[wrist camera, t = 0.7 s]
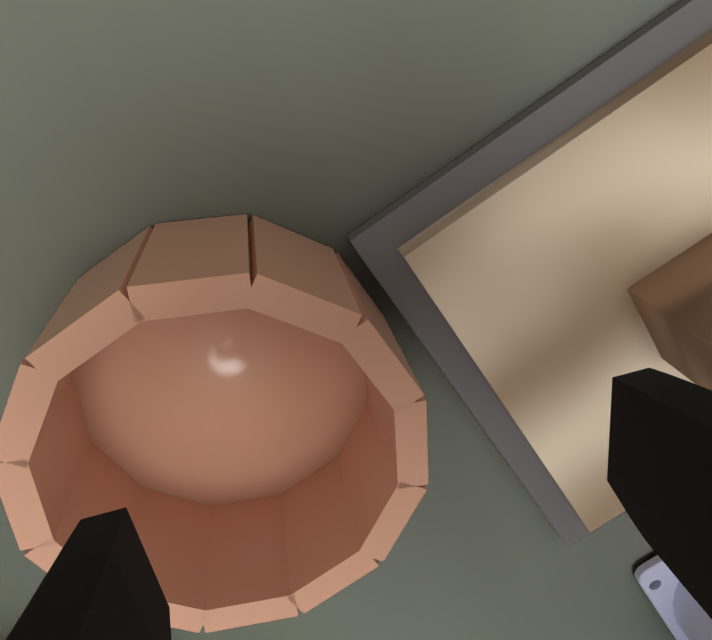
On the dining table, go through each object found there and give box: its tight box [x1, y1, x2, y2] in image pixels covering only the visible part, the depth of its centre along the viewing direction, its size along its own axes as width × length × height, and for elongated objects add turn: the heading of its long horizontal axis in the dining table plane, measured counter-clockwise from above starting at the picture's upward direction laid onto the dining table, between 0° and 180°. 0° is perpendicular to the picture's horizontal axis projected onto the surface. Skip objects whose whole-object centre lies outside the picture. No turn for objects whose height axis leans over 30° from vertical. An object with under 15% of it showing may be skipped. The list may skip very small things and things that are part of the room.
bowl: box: [0, 214, 428, 633], centre depth 18 cm, size 10×10×5 cm
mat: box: [347, 0, 712, 547], centre depth 21 cm, size 15×15×1 cm
